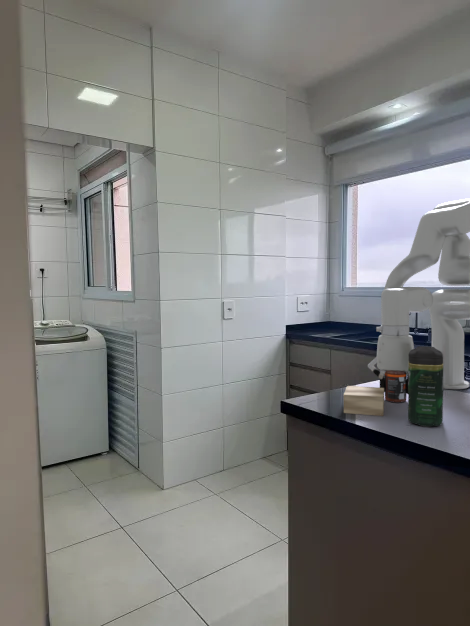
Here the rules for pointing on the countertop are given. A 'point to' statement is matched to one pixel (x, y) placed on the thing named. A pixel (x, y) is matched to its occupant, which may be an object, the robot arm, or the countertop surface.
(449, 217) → the robot arm
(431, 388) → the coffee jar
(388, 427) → the countertop surface
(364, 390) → the beech block
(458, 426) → the countertop surface
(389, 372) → the supplement bottle
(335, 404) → the countertop surface
